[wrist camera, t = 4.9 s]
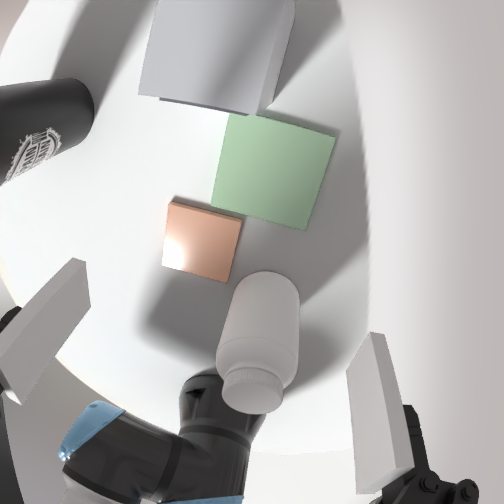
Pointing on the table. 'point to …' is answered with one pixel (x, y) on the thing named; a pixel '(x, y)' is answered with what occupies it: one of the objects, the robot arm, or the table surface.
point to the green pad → (271, 169)
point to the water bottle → (41, 122)
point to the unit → (217, 53)
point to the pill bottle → (259, 343)
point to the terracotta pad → (200, 241)
